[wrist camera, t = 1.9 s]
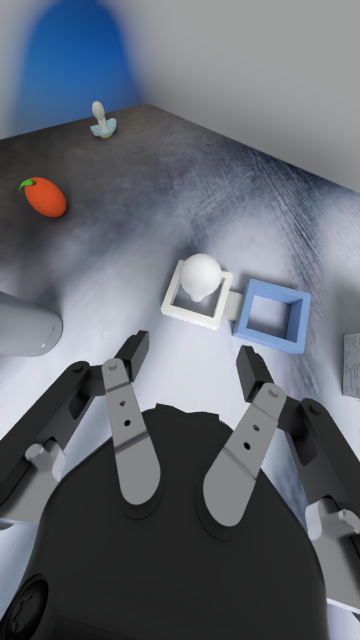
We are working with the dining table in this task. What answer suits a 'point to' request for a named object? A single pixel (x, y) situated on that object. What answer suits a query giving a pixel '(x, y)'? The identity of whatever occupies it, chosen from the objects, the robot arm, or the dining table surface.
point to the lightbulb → (200, 276)
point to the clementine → (44, 196)
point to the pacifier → (102, 122)
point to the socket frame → (247, 311)
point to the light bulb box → (351, 366)
